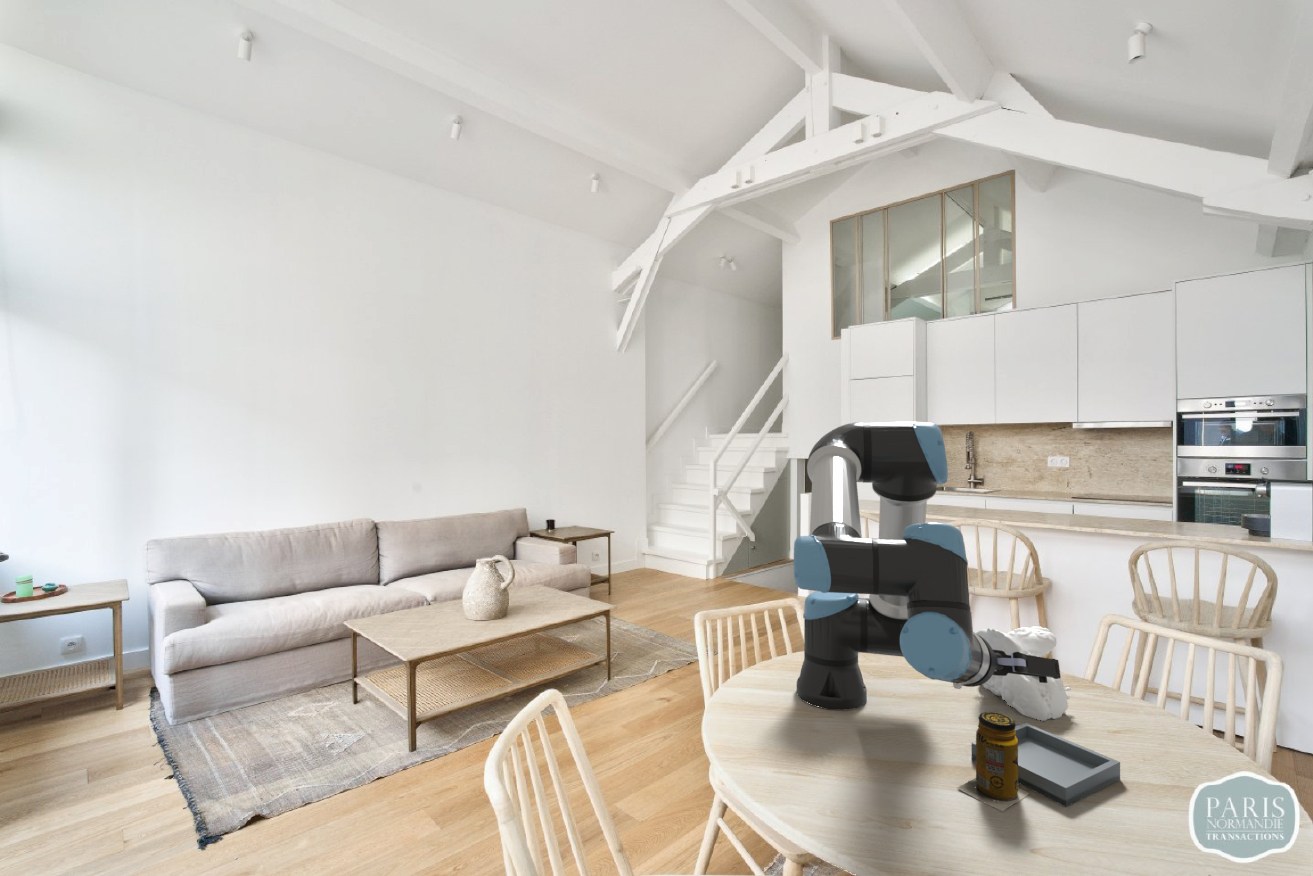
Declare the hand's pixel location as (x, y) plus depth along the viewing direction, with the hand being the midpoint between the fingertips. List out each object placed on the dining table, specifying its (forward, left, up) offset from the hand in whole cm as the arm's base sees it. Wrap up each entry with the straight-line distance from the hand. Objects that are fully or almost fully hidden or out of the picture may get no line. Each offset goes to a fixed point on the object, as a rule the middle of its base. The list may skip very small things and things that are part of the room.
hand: (992, 668), depth 99 cm
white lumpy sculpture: (-19, +39, -21) cm, 48 cm away
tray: (0, +15, -20) cm, 25 cm away
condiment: (0, +1, -21) cm, 21 cm away
